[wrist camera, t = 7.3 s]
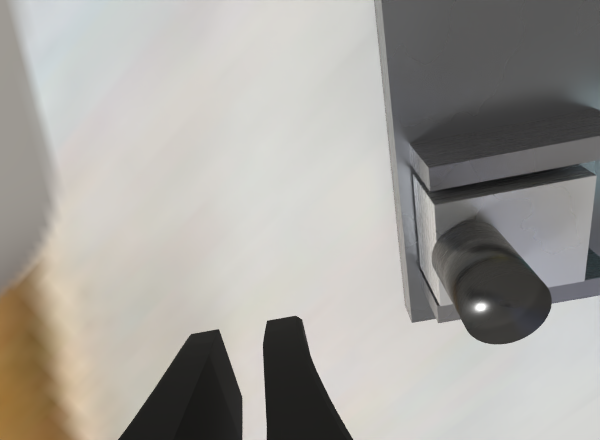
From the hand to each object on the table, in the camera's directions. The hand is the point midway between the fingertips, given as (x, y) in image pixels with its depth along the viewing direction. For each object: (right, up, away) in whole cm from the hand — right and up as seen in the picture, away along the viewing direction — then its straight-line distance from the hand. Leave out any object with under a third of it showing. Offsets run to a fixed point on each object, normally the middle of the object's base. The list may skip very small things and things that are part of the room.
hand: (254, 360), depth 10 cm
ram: (+8, +3, +8) cm, 11 cm away
